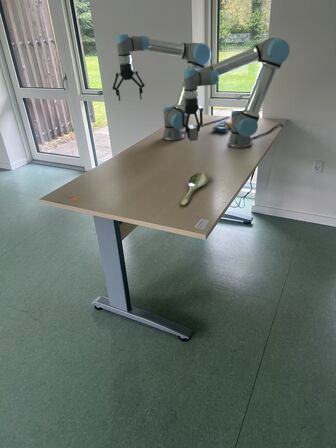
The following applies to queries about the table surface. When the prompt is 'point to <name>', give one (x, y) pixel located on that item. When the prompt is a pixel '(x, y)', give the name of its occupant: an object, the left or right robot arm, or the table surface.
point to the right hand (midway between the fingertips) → (192, 136)
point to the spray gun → (222, 126)
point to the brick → (193, 132)
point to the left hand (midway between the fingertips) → (130, 99)
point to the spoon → (195, 184)
